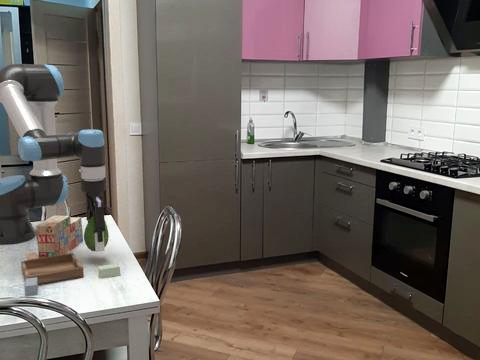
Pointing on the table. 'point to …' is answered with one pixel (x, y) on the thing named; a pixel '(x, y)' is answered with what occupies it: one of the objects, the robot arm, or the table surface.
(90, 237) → the fruit
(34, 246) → the table surface
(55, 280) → the tray
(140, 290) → the table surface
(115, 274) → the sage brick
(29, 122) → the robot arm
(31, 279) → the slate brick
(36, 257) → the terracotta brick
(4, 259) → the table surface
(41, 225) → the stack of blocks
